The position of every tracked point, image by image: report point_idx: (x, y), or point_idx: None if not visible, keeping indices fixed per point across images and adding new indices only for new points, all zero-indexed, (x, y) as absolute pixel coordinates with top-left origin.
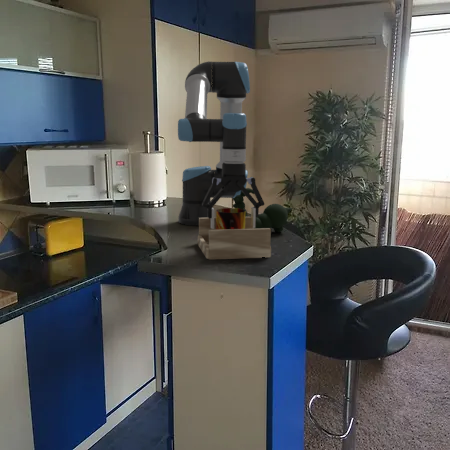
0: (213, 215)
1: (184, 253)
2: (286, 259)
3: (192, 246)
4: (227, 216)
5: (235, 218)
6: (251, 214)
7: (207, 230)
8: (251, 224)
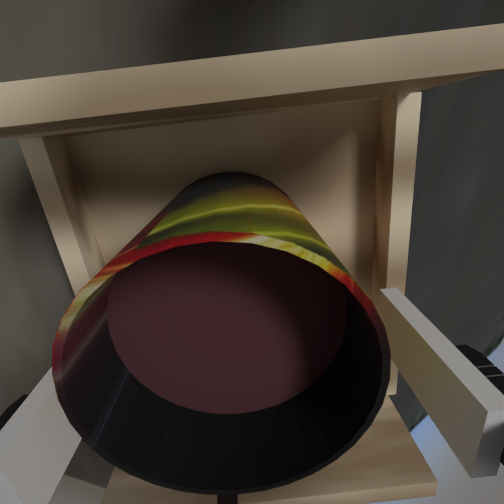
0: (65, 456)
1: (30, 323)
2: (417, 399)
3: (34, 192)
4: (192, 457)
5: (258, 441)
6: (429, 353)
7: (66, 130)
8: (385, 307)
